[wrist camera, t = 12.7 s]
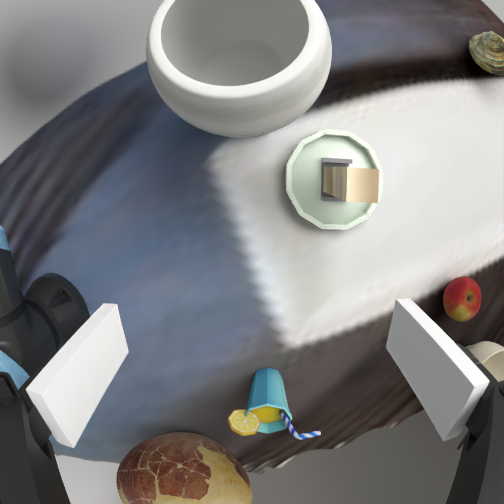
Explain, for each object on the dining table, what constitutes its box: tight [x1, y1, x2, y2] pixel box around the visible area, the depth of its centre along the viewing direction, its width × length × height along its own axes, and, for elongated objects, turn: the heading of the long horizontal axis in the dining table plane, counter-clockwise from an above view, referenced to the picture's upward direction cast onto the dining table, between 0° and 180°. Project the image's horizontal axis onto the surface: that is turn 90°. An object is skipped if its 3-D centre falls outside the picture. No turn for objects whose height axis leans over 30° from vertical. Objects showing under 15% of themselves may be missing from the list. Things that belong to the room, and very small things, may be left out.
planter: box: [146, 0, 332, 137], centre depth 26 cm, size 16×16×22 cm
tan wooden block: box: [323, 167, 379, 203], centre depth 33 cm, size 4×4×12 cm
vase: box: [117, 432, 253, 504], centre depth 42 cm, size 28×27×30 cm
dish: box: [285, 129, 383, 230], centre depth 38 cm, size 14×14×3 cm
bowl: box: [465, 341, 504, 382], centre depth 44 cm, size 16×16×10 cm
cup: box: [228, 367, 321, 440], centre depth 43 cm, size 14×8×15 cm, turn 93°
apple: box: [443, 277, 481, 321], centre depth 40 cm, size 8×8×8 cm
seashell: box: [469, 31, 504, 75], centre depth 26 cm, size 11×11×10 cm
